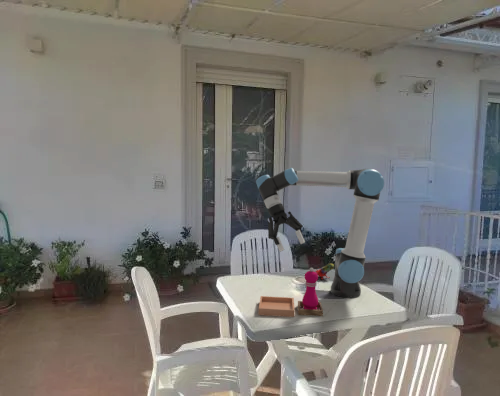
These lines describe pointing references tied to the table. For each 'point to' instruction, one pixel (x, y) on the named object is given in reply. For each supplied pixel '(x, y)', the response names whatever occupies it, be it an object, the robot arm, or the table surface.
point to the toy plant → (324, 270)
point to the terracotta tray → (276, 306)
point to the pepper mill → (310, 290)
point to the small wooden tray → (309, 311)
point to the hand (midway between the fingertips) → (292, 247)
